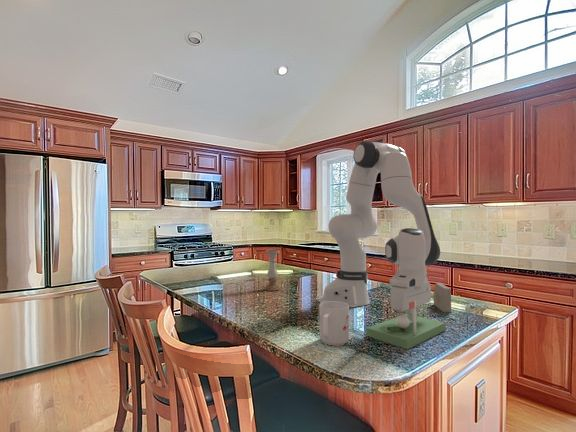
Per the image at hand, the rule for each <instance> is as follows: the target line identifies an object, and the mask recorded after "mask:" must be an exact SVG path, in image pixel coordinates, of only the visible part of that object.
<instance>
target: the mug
mask: <svg viewBox="0 0 576 432" xmlns="http://www.w3.org/2000/svg"><path fill="white" fill-rule="evenodd" d="M318 309H319V313H318V314H319V319H318V320H319V339H320V341H321V342H322V343H323V342H324V343H325V344H324V343H323V344H324V345H326V344H328V345H327V346H330V345H333V346H332V347H340V346H344V345H346V344H345V343H348V341H349V340H350V307H349V305H348V304H347V303H344V302H339V301H326V302H322V303H319V307H318Z"/></svg>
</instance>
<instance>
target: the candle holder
mask: <svg viewBox="0 0 576 432" xmlns="http://www.w3.org/2000/svg"><path fill="white" fill-rule="evenodd" d="M280 251H281V250H277V249H267V250H265V253H266V254H268V257H269V260H268V262H269V268H268V270H267V277H268V279H267V281H268V284H266V285H265V286H264V287H263V288H264V291H266V290H268V292H277V291H276V290H278V291H281V290H282V287H281V286H280V284H278V283H277V281H278V279H277V277H278V270H277V268H276V262H277V259H276V257H277V254H279V253H280ZM280 289H281V290H280Z"/></svg>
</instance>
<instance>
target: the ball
mask: <svg viewBox="0 0 576 432" xmlns="http://www.w3.org/2000/svg"><path fill="white" fill-rule="evenodd" d="M396 317H397V320H396V322H397V325H398V326H399V327H400V328H407V327H408V326H409V324H410V321H409V318H408V317H407V316H405V315H404V314H400V315H398V316H396Z"/></svg>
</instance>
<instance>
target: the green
mask: <svg viewBox="0 0 576 432" xmlns="http://www.w3.org/2000/svg"><path fill="white" fill-rule="evenodd" d="M410 309H413V321H410V324H409V326H408V327H407V328H400V327H399V326H398V325H397V322H396V320H397V317H398V316H395V317H393V318H390V319H387V320H386V321H382V322H380V323H379V322H378V323H377V324H374V325H371V326H368V327H366V337H368V336H369V338H371V337H372V339H375V340H379V341H380V342H384V343H387V344H390V345H393V346H396V347H399V348H403V349H405V350H410V349H411V348H413V347H415V346H417V345H419V344H421V343H423V342H425V341H427V340H429V339H431V338H433V337H435V336H437V335H439V334H441V333H442V332H445V331H446V322H443V321H439V320H435V319H430V318H427V317H423V316H418V315H417V319H416V301H413V302H410V303H409V310H410ZM403 315H405V316H407V317H408V315H407V313H403Z"/></svg>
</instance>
